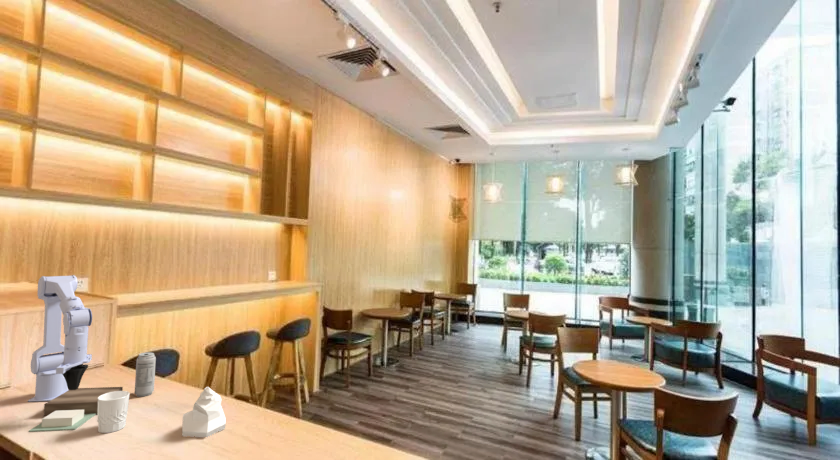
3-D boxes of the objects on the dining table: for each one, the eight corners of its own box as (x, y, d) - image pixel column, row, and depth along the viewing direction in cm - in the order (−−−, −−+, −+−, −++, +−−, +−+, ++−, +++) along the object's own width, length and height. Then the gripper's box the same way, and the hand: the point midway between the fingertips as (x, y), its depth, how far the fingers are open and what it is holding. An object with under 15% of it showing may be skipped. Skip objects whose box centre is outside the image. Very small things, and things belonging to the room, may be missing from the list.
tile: (41, 418, 122) (41, 427, 122) (72, 417, 124) (71, 425, 124) (55, 410, 128) (55, 418, 128) (84, 409, 130) (83, 417, 130)
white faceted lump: (239, 427, 131) (245, 388, 128) (193, 451, 118) (199, 408, 116) (216, 409, 137) (222, 371, 134) (170, 429, 124) (176, 388, 122)
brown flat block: (71, 399, 144) (72, 388, 144) (122, 397, 147) (122, 386, 147) (43, 416, 130) (44, 404, 130) (99, 414, 133) (100, 402, 133)
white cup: (92, 436, 119) (94, 402, 119) (99, 425, 126) (101, 392, 126) (125, 431, 122) (127, 398, 123) (129, 420, 129) (131, 389, 130)
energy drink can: (155, 390, 155) (157, 351, 155) (151, 396, 149) (153, 355, 150) (137, 392, 153) (139, 352, 153) (132, 398, 147) (134, 356, 148)
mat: (53, 416, 130) (53, 415, 130) (95, 414, 133) (95, 413, 133) (28, 432, 120) (28, 430, 120) (74, 429, 122) (74, 428, 122)
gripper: (75, 353, 124) (72, 397, 124) (102, 341, 138) (100, 381, 138) (49, 353, 123) (46, 398, 122) (79, 341, 137) (76, 381, 137)
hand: (73, 389), depth 130 cm, fingers closed
